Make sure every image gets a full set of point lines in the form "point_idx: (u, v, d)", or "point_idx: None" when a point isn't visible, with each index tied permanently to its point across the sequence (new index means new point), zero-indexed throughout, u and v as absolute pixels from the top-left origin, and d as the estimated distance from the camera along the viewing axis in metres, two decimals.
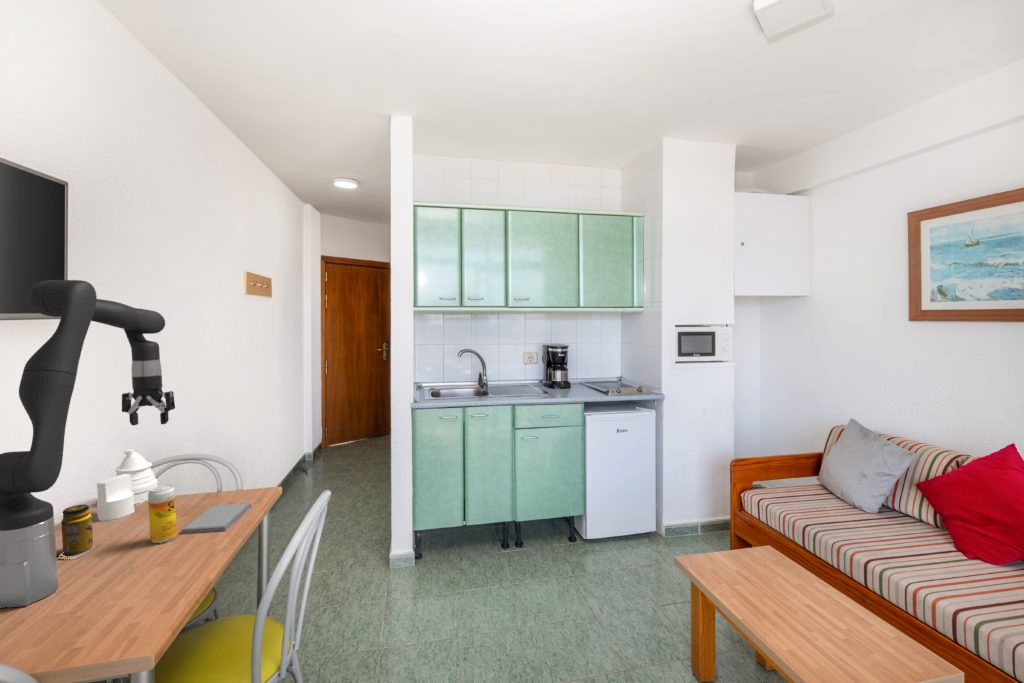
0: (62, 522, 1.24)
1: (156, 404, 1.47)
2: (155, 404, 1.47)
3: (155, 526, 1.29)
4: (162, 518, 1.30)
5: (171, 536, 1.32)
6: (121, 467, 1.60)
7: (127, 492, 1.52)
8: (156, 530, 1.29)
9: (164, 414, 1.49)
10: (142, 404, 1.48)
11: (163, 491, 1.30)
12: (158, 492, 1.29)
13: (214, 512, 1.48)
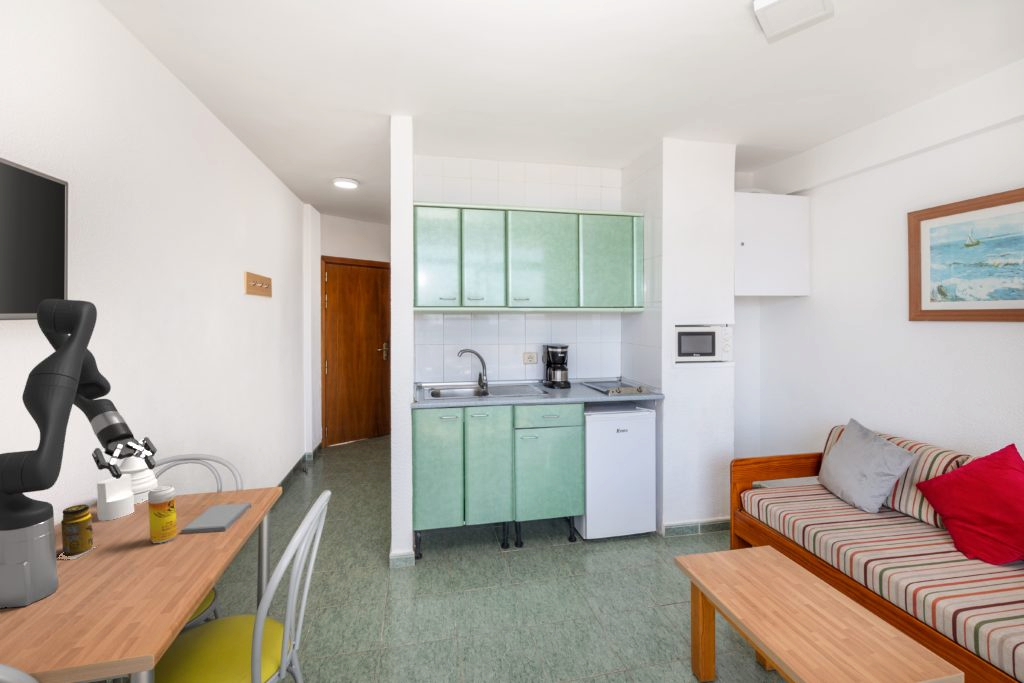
0: (62, 522, 1.24)
1: (141, 448, 1.40)
2: (140, 448, 1.40)
3: (155, 526, 1.29)
4: (162, 518, 1.30)
5: (171, 536, 1.32)
6: (121, 467, 1.60)
7: (127, 492, 1.52)
8: (156, 530, 1.29)
9: (151, 457, 1.41)
10: (123, 453, 1.36)
11: (163, 491, 1.30)
12: (158, 492, 1.29)
13: (214, 512, 1.48)
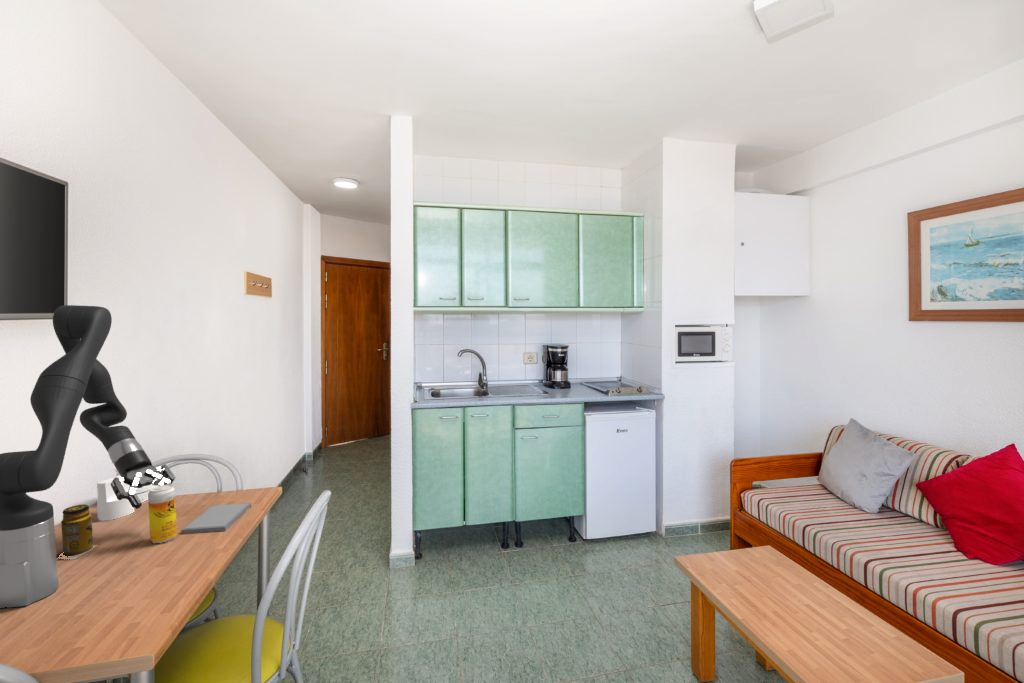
0: (62, 522, 1.24)
1: (159, 475, 1.37)
2: (158, 476, 1.37)
3: (155, 526, 1.29)
4: (162, 518, 1.30)
5: (171, 536, 1.32)
6: None
7: None
8: (156, 530, 1.29)
9: None
10: (142, 482, 1.33)
11: (163, 491, 1.30)
12: (158, 492, 1.29)
13: (214, 512, 1.48)
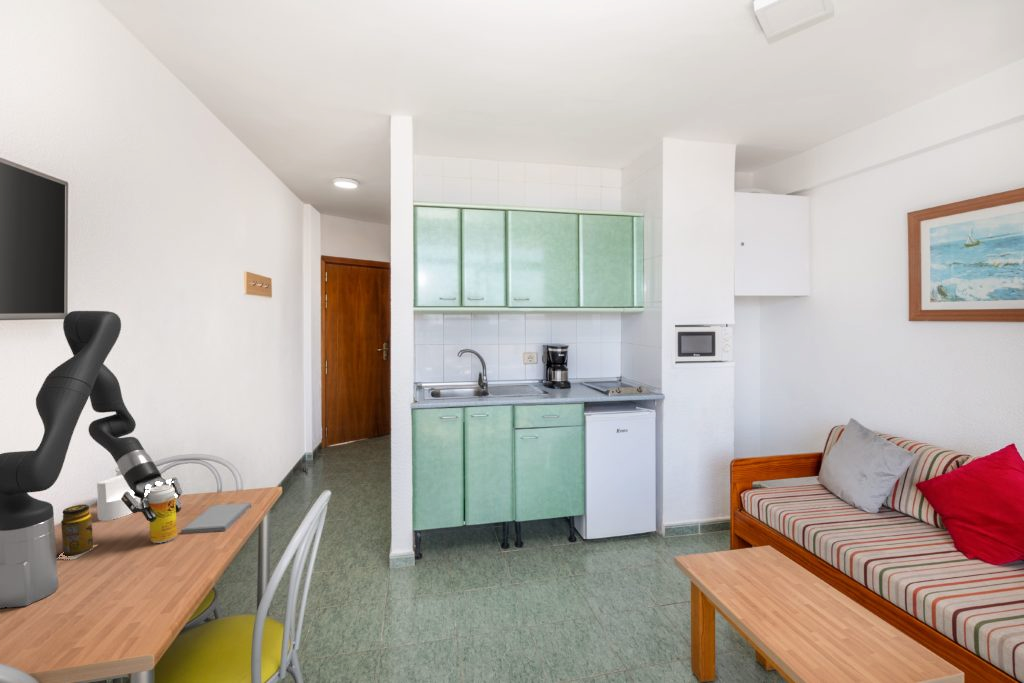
0: (62, 522, 1.24)
1: None
2: None
3: (155, 526, 1.29)
4: (162, 518, 1.30)
5: (171, 536, 1.32)
6: None
7: None
8: (156, 530, 1.29)
9: (176, 499, 1.36)
10: None
11: (163, 491, 1.30)
12: (158, 492, 1.29)
13: (214, 512, 1.48)
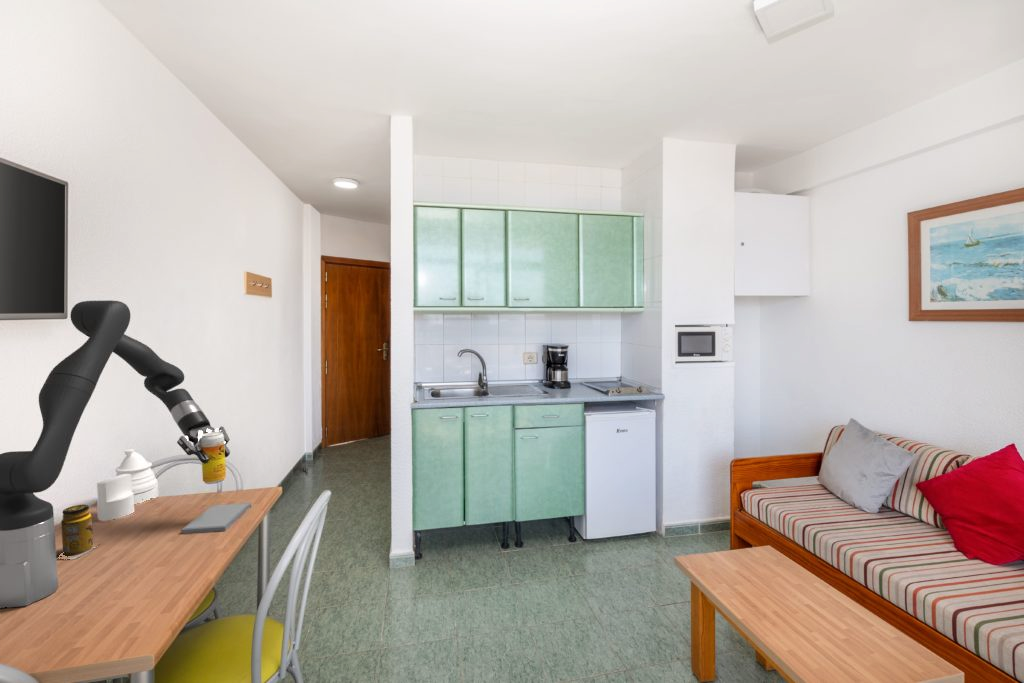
0: (62, 522, 1.24)
1: None
2: None
3: (208, 467, 1.42)
4: (214, 460, 1.42)
5: (221, 478, 1.44)
6: (121, 467, 1.60)
7: (127, 492, 1.52)
8: (209, 472, 1.42)
9: (225, 446, 1.48)
10: None
11: (215, 436, 1.42)
12: (210, 437, 1.42)
13: (214, 512, 1.48)
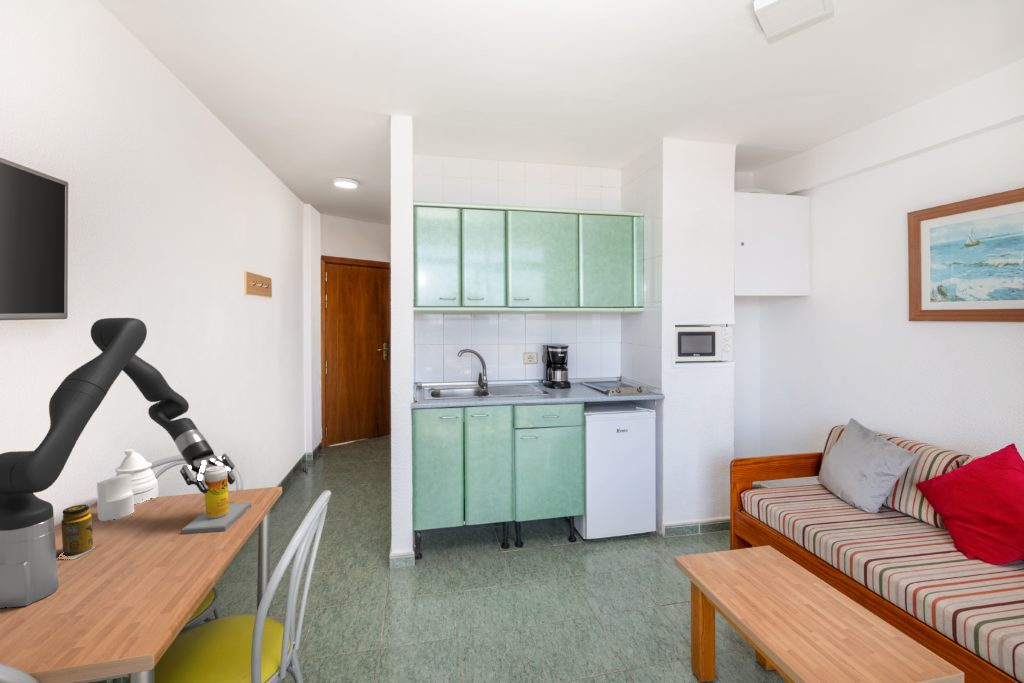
0: (62, 522, 1.24)
1: (221, 464, 1.49)
2: (220, 464, 1.48)
3: (211, 502, 1.42)
4: (217, 495, 1.43)
5: (224, 512, 1.44)
6: (121, 467, 1.60)
7: (127, 492, 1.52)
8: (212, 506, 1.42)
9: (230, 473, 1.50)
10: None
11: (218, 471, 1.43)
12: (213, 471, 1.42)
13: None
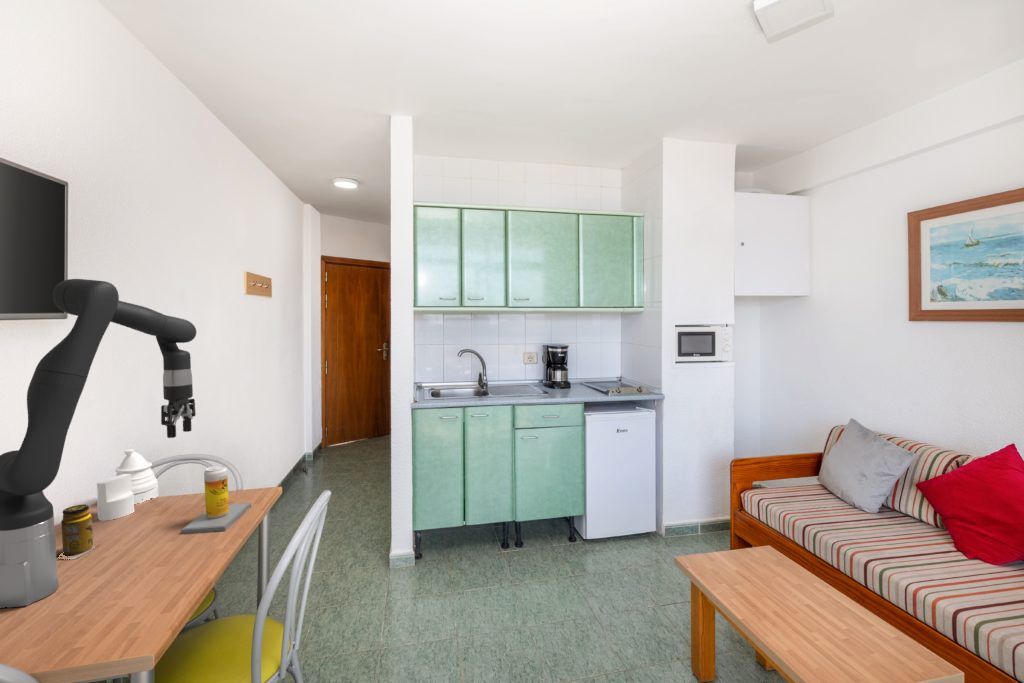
0: (62, 522, 1.24)
1: (190, 411, 1.51)
2: (190, 411, 1.50)
3: (211, 502, 1.42)
4: (217, 495, 1.43)
5: (224, 512, 1.45)
6: (121, 467, 1.60)
7: (127, 492, 1.52)
8: (212, 506, 1.42)
9: None
10: (180, 414, 1.46)
11: (218, 471, 1.43)
12: (213, 471, 1.42)
13: None
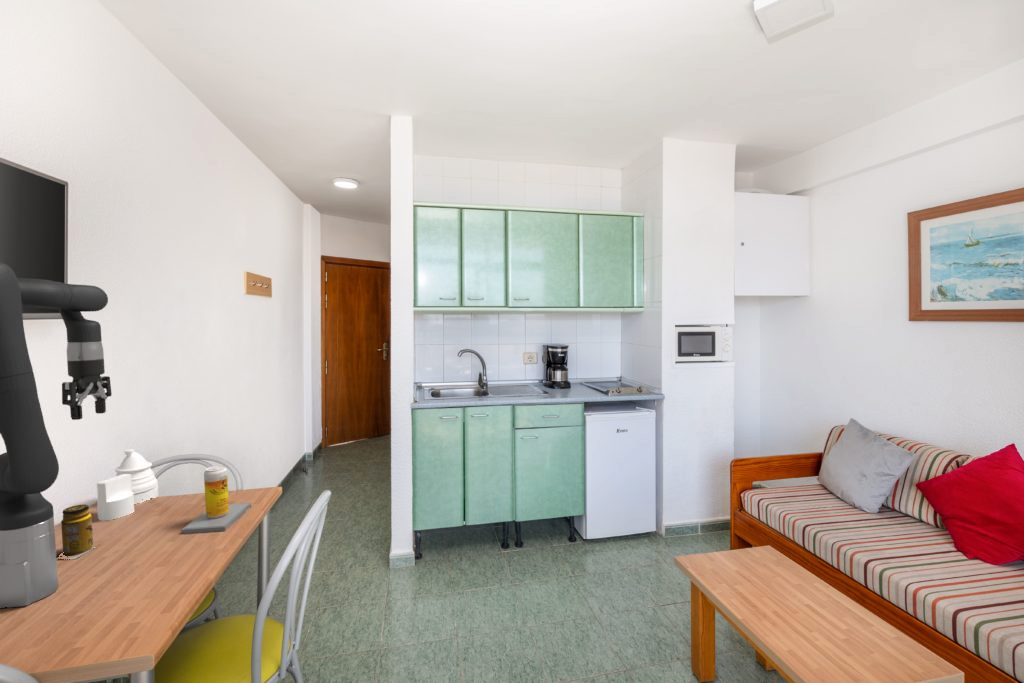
0: (62, 522, 1.24)
1: (103, 390, 1.33)
2: (102, 390, 1.32)
3: (211, 502, 1.42)
4: (217, 495, 1.43)
5: (224, 512, 1.45)
6: (121, 467, 1.60)
7: (127, 492, 1.52)
8: (212, 506, 1.42)
9: (104, 401, 1.34)
10: (89, 392, 1.28)
11: (218, 471, 1.43)
12: (213, 471, 1.42)
13: None
